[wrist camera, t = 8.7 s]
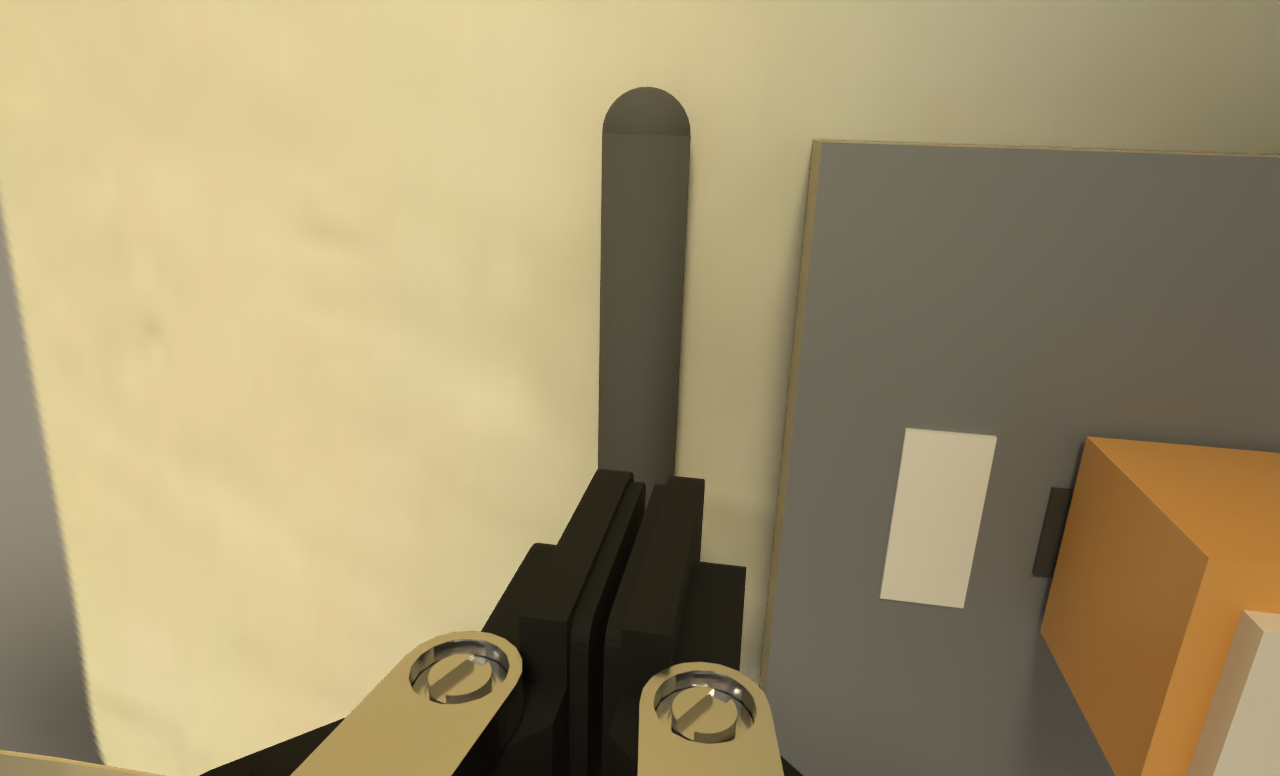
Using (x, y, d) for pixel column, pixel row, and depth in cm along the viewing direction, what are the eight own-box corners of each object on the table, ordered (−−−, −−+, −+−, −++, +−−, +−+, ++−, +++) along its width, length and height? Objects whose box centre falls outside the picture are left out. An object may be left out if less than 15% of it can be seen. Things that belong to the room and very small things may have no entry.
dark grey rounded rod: (613, 87, 14) (594, 83, 13) (697, 89, 14) (687, 85, 13) (603, 677, 19) (587, 725, 17) (667, 687, 19) (657, 735, 17)
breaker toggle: (1086, 436, 12) (1229, 578, 8) (1302, 454, 11) (1557, 614, 8) (1040, 631, 13) (1145, 833, 9) (1234, 655, 13) (1426, 877, 9)
